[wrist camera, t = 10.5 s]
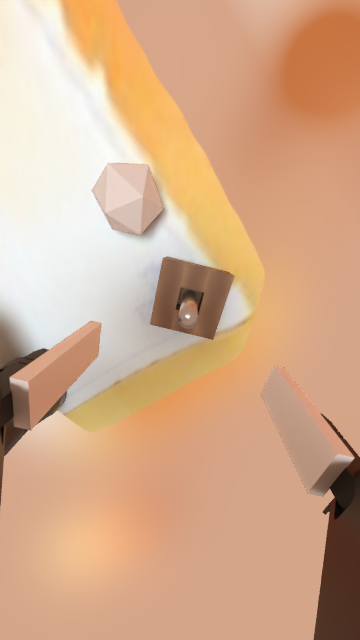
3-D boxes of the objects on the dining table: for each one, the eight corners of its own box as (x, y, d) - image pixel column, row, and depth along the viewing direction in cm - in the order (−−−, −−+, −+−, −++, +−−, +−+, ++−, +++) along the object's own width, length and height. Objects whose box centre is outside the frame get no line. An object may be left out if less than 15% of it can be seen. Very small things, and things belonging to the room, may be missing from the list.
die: (115, 165, 30) (64, 184, 24) (159, 142, 25) (108, 158, 19) (139, 222, 35) (102, 248, 30) (180, 211, 30) (145, 240, 25)
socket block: (155, 314, 37) (150, 324, 32) (167, 256, 33) (163, 257, 29) (210, 328, 37) (213, 339, 33) (228, 272, 34) (234, 275, 29)
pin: (181, 301, 34) (175, 325, 23) (184, 288, 34) (180, 307, 22) (194, 304, 34) (195, 330, 23) (198, 291, 34) (200, 312, 22)
